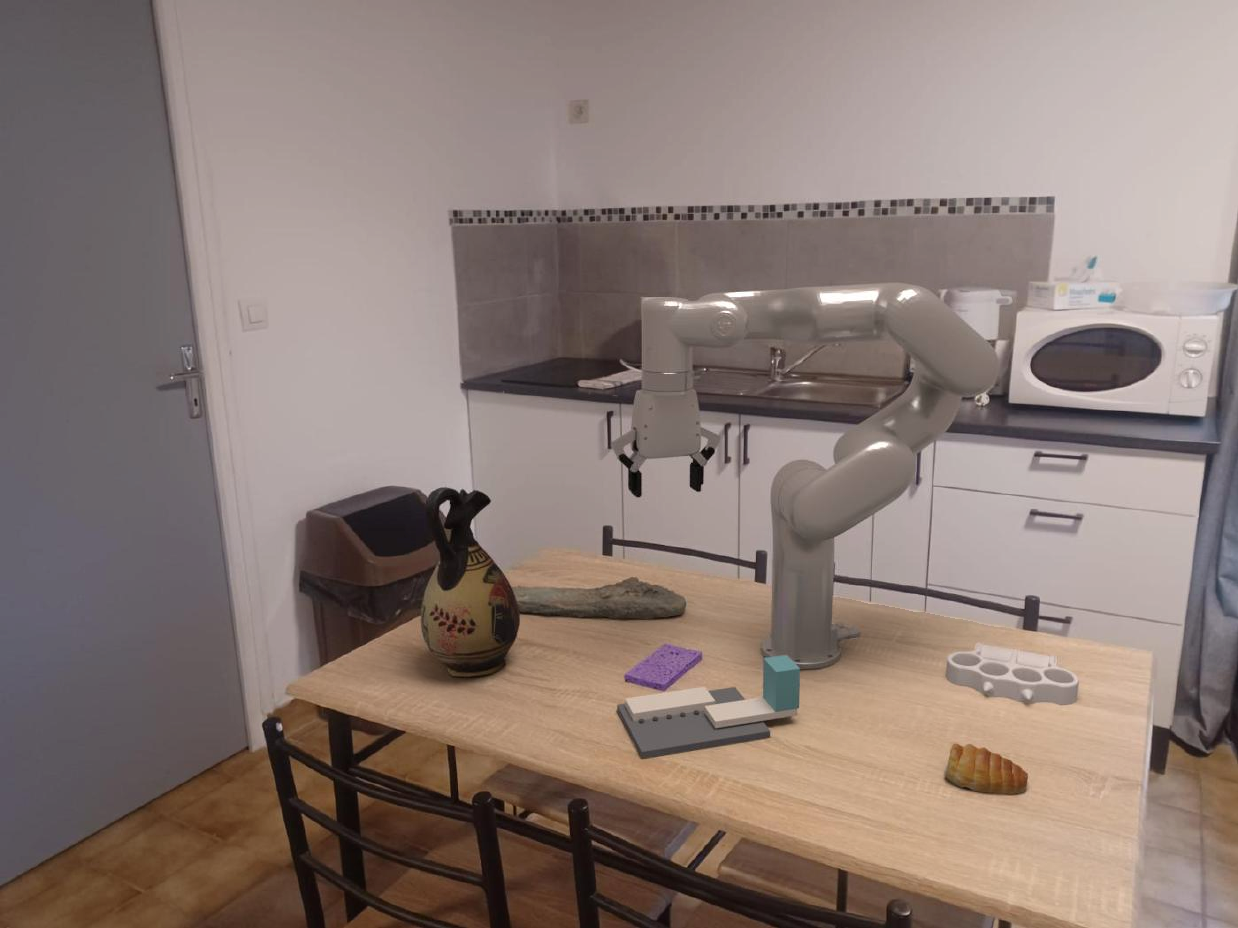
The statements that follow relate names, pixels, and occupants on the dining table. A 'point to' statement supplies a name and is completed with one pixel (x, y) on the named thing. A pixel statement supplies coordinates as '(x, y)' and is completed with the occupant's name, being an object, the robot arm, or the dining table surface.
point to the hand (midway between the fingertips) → (666, 492)
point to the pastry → (984, 771)
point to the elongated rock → (602, 601)
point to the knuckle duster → (1013, 675)
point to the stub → (775, 702)
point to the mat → (689, 730)
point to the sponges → (663, 667)
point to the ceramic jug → (466, 592)
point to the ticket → (668, 704)
